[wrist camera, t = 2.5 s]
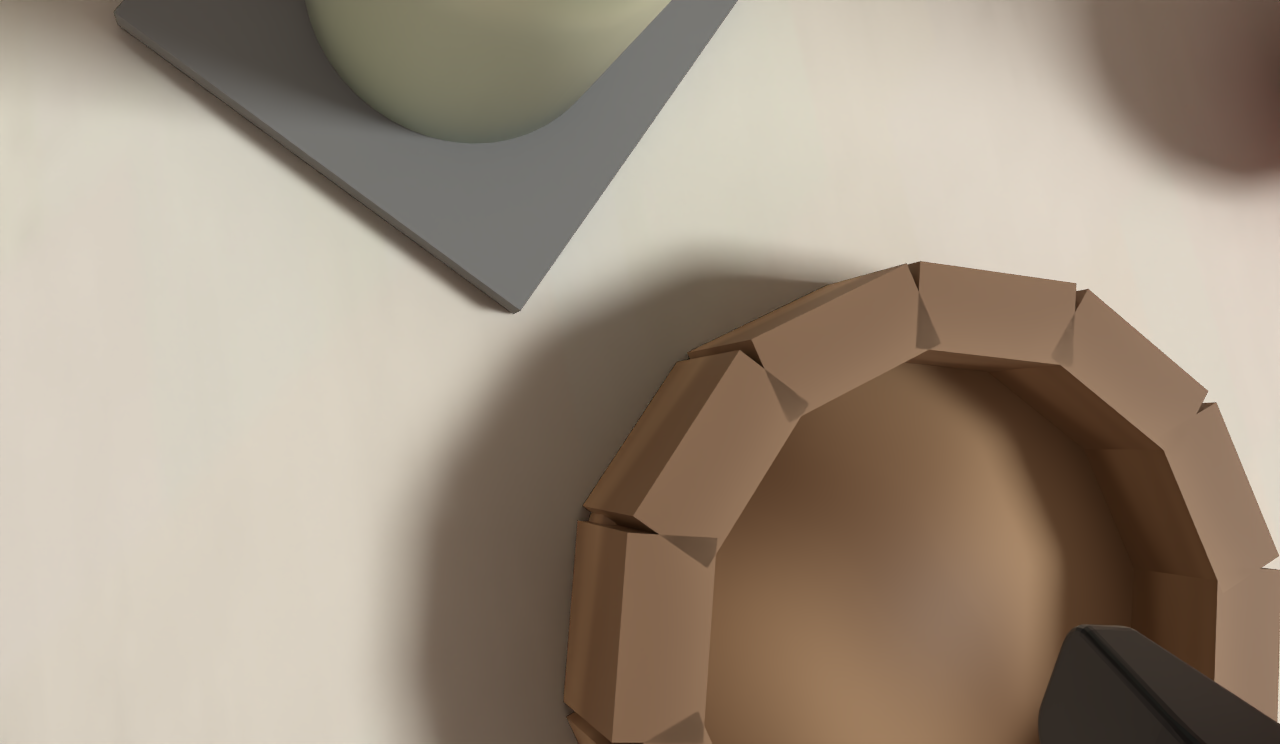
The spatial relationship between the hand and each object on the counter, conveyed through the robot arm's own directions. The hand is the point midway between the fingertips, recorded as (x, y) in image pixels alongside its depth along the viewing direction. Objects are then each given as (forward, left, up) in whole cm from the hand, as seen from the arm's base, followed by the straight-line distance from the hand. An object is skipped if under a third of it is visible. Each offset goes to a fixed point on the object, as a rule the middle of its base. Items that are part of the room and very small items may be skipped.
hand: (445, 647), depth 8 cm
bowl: (+4, -10, -12) cm, 16 cm away
